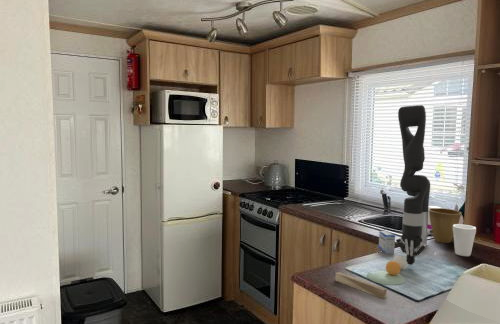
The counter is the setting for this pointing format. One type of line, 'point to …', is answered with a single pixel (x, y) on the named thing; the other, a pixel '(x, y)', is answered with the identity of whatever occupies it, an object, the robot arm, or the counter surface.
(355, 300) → the counter surface
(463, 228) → the foam cup
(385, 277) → the mint mark
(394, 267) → the orange ball
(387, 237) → the medicine box
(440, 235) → the plant pot
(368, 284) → the light wooden bar
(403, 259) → the white ball
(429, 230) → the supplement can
